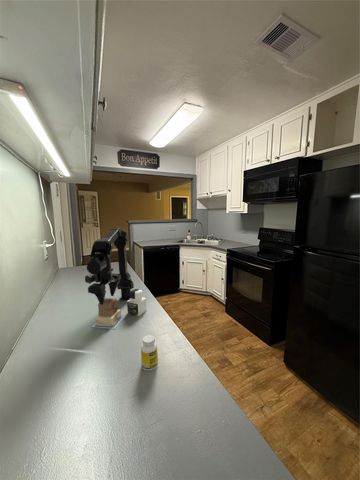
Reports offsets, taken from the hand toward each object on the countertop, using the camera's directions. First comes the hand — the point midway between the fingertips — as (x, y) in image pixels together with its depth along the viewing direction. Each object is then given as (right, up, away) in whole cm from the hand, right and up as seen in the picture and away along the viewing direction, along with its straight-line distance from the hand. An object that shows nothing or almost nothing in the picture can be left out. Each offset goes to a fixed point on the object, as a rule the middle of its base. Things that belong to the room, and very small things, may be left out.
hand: (107, 300), depth 94 cm
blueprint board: (0, -11, +2) cm, 11 cm away
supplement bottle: (+24, -15, -26) cm, 38 cm away
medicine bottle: (+12, -10, +10) cm, 19 cm away
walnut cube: (0, -7, +1) cm, 7 cm away
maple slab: (0, -11, +2) cm, 11 cm away
